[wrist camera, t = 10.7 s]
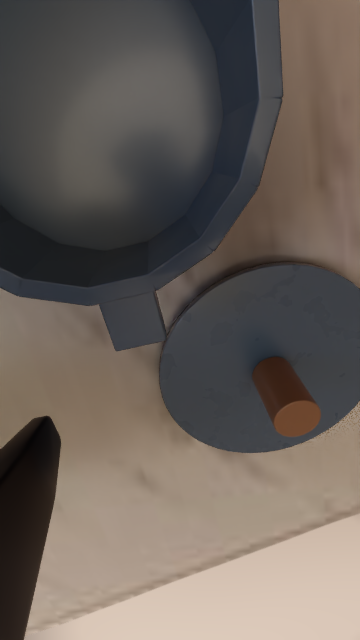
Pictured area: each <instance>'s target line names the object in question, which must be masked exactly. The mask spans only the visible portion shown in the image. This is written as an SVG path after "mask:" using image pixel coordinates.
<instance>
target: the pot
mask: <svg viewBox="0 0 360 640" xmlns="http://www.w3.org/2000/svg"><path fill="white" fill-rule="evenodd" d="M282 97H283V80H282V60H281V39H280V19H279V0H0V288H2V289H4V290H6V291H8V292H10V293H12V294H14V295H16V296H19V297H26V298H33V299H41V300H48V301H55V302H63V303H70V304H78V305H85V306H90V305H91V306H93V305H97V304H99V306H100V309H101V312H102V315H103V317H104V320H105V323H106V326H107V329H108V331H109V334H110V337H111V340H112V343H113V346H114V348H115V351H121V350H126V349H130V348H135V347H139V346H144V345H148V344H153V343H157V342H162V341H165V340H166V339H167V338H166V329H165V325H164V321H163V317H162V314H161V310H160V306H159V302H158V298H157V294H156V290H159V289H160V288H162V287H163V286H165V285H166V284H167V283H169V282H170V281H172V280H173V279H175V278H176V277H178V276H179V275H181V274H182V273H184V272H185V271H187V270H188V269H190V268H191V267H193V266H194V265H195V264H197V263H198V262H200V261H201V260H203V259H204V258H206V257H207V256H209V255H210V254H212V252H213V251H215V250H216V248H217V247H218V246H219V244H220V243H221V241H222V240H223V238H224V237H225V236H226V234H227V233H228V231H229V230H230V228H231V227H232V225H233V224H234V223H235V221H236V220H237V218H238V217H239V215H240V214H241V212H242V211H243V210H244V208H245V207H246V205H247V204H248V202H249V201H250V200H251V198H252V197H253V195H254V194H255V192H256V191H257V189H258V188H257V187H258V186H259V184H260V181H261V177H262V173H263V170H264V166H265V162H266V159H267V155H268V151H269V148H270V144H271V140H272V137H273V133H274V129H275V126H276V122H277V118H278V115H279V111H280V108H281V104H282Z"/></svg>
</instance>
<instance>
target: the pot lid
mask: <svg viewBox="0 0 360 640" xmlns="http://www.w3.org/2000/svg"><path fill="white" fill-rule="evenodd" d="M159 379H160V389H161V393H162V397H163V400H164V403H165V405H166V408H167V409H168V411H169V413H170V414H171V416H172V417H173V419H174V420H175V421H176V422H177V424H178V425H179V426H180V427H181V428H182V429H183V430H185V431H186V432H187V433H188V434H189V435H191V436H192V437H194V438H195V439H197V440H199V441H201V442H203V443H205V444H207V445H210V446H212V447H215V448H218V449H222V450H227V451H232V452H240V453H260V452H269V451H275V450H280V449H284V448H288V447H292V446H294V445H297V444H300V443H303V442H305V441H307V440H309V439H312V438H314V437H316V436H318V435H319V434H321V433H323V432H325V431H326V430H328V429H329V428H331V427H332V426H333V425H335V424H336V423H338V422H339V421H340V420H341V419H342V418H344V417H345V416H346V415H347V414H348V413H349V412H350V411H351V410H352V409H353V408H354V407H355V406H356V405H357V403H358V402H359V401H360V289H359V288H358V287H357V286H356V285H355V284H353V283H352V282H351V281H349V280H347V279H346V278H344V277H343V276H341V275H339V274H338V273H336V272H333V271H331V270H328V269H326V268H323V267H320V266H316V265H311V264H306V263H296V262H282V263H271V264H265V265H259V266H255V267H252V268H249V269H245V270H242V271H240V272H237V273H235V274H233V275H230V276H228V277H226V278H224V279H222V280H221V281H219V282H217V283H215V284H214V285H212V286H211V287H209V288H208V289H207V290H205V291H204V292H203V293H201V294H200V295H199V296H198V297H197V298H196V299H194V300H193V301H192V302H191V303H190V304H189V305H188V306H187V307H186V309H185V310H184V311H183V312H182V313H181V315H180V316H179V317H178V318H177V320H176V322H175V323H174V325H173V327H172V328H171V330H170V331H169V334H168V336H167V339H166V341H165V343H164V346H163V350H162V353H161V357H160V366H159Z"/></svg>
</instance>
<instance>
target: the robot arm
mask: <svg viewBox="0 0 360 640" xmlns="http://www.w3.org/2000/svg"><path fill="white" fill-rule="evenodd" d="M60 449H61V439H60V436H59V434H58V431H57V429H56V427H55V425H54V423H53V421H52V419H51V418H50V417H49V416H43V417H38V418H34V419H32V420H31V421H30V422H29V423H28V424H27V425H26V426H25V427H24V428H23V429H22V430H21V431H19V432H18V433H17V434H16V435H15V436H14V437H13V438H12V439H11V440H10V441H9V442H8V443H7V444H6V445H5V446H4V447H2V448H1V449H0V640H24V636H25V632H26V627H27V623H28V618H29V614H30V609H31V605H32V600H33V596H34V591H35V587H36V582H37V578H38V573H39V569H40V564H41V560H42V555H43V551H44V546H45V542H46V537H47V533H48V528H49V523H50V519H51V514H52V510H53V505H54V500H55V493H56V485H57V476H58V467H59V458H60Z"/></svg>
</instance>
